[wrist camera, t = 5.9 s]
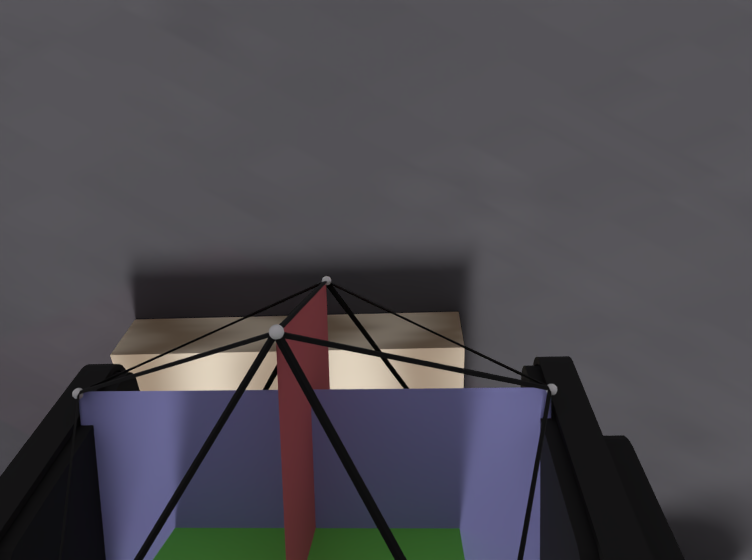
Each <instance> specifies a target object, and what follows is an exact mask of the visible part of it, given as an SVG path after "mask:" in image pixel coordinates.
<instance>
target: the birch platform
mask: <svg viewBox="0 0 752 560" xmlns="http://www.w3.org/2000/svg"><path fill="white" fill-rule="evenodd" d="M396 314H399V315H401V316H403V317H405V318H407V319H409V320H411V321H413V322H415V323H418V324H420V325H422V326H424V327H426V328H428V329H430V330H432V331H434V332H436V333H439V334H441V335H443V336H445V337H447V338H449V339H451V340H453V341H455V342H458V343H460V344H462V345H464V341H463V335H462V329H461V323H460V317H459V312H424V313H396ZM354 315H355V316H356V318H357V319H358V320H359V322H360V323H361V324H362V326H363V327H364V328H365V330H366V331H367V332H368V334H369V335H370V336H371V338H372V339H373V340H374V342H375V343H376V344H377V346H378V347H379V349H380V350H381V351H382V352H385V353H390V354H395V355H400V356H405V357H410V358H415V359H420V360H425V361H430V362H434V363H439V364H444V365H449V366H454V367H459V368H464V348H463V347H460V346H458V345H456V344H454V343H452V342H450V341H448V340H446V339H444V338H442V337H440V336H437V335H435V334H433V333H431V332H429V331H427V330H425V329H423V328H421V327H419V326H416V325H414V324H412V323H410V322H408V321H406V320H404V319H402V318H400V317H398V316H395V315H393V314H391V313H382V314H354ZM286 317H287V316H259V317H248V318H246V319H244V320H242V321H239V322H237V323H235V324H233V325H231V326H228V327H226V328H224V329H222V330H219V331H217V332H215V333H213V334H211V335H208V336H206V337H204V338H202V339H200V340H197V341H195V342H193V343H191V344H188V345H186V346H184V347H182V348H180V349H177V350H175V351H173V352H171V353H168V354H166V355H164V356H162V357H160V358H157V359H155V360H153V361H151V362H149V363H146V364H144V365H142V366H140V367H137V368H135V369H133V370H131V371H129V372H132V373H133V374H135V373H138V372H141V371H144V370H148V369H151V368H154V367H157V366H161V365H164V364H167V363H170V362H174V361H177V360H180V359H184V358H187V357H190V356H193V355H197V354H200V353H203V352H206V351H210V350H213V349H216V348H219V347H223V346H226V345H229V344H232V343H236V342H239V341H242V340H246V339H249V338H252V337H255V336H259V335H262V334H265V333H268V332H269V329H270V327H271V326H273V325H275V324H278V325H279V324H280V323H281V322H282V321H283V320H284V319H285V318H286ZM241 318H243V317H218V318H177V319H136V320H134V322H133V323H132V325H131V326H130V328H129V329H128V330H127V332H126V333H125V335H124V336H123V338H122V339H121V340H120V342H119V343H118V345H117V346H116V348H115V349H114V351H113V352H112V353H111V355H110V356H111V359H112V362H113V364H120V365H123V367H124V368H125V369H126V370H127V369H129V368H132V367H134V366H136V365H138V364H140V363H143V362H145V361H147V360H149V359H152V358H154V357H156V356H158V355H160V354H163V353H165V352H167V351H169V350H172V349H174V348H176V347H178V346H180V345H183V344H185V343H187V342H189V341H192V340H194V339H196V338H198V337H201V336H203V335H205V334H207V333H209V332H212V331H214V330H216V329H218V328H221V327H223V326H225V325H227V324H229V323H232V322H234V321H236V320H238V319H241ZM327 322H328V341H331V342H336V343H341V344H346V345H351V346H356V347H361V348H366V349H370V350H374V349H373V347H372V346H371V345H370V343H369V342H368V341H367V339H366V338H365V337H364V335H363V334H362V333H361V331H360V330H359V329H358V327H357V326H356V325H355V323H354V322H353V321H352V320H351V318H350V317H349V316H348V314H341V315H327ZM267 339H268V338H266V339H263V340H259V341H256V342H253V343H249V344H246V345H243V346H239V347H236V348H233V349H229V350H226V351H223V352H219V353H216V354H213V355H209V356H206V357H203V358H199V359H196V360H193V361H189V362H186V363H182V364H179V365H176V366H172V367H169V368H166V369H162V370H159V371H156V372H152V373H149V374H146V375H142V376H139V377H136V379H137V383H138V386H139V390H140V391H202V390H237V388H238V387H239V385H240V383H241V382H242V380H243V379H244V377H245V375H246V374H247V372H248V370H249V369H250V367H251V365H252V364H253V362H254V360H255V359H256V357H257V355H258V354H259V352H260V350H261V349H262V347H263V345H264V344H265V342H266V341H267ZM328 350H329V379H330V389H403V387H402V386H401V385H400V383H399V382H398V381H397V379H396V378H395V377H394V375H393V374H392V373H391V371H390V370H389V369H388V367H387V366H386V365H385V363H384V362H383V361H382V359H381V358H380V357H376V356H371V355H366V354H360V353H355V352H350V351H345V350H340V349H335V348H330V347H328ZM388 361H389V362H390V363H391V365H392V366H393V367H394V369H395V370H396V371H397V373H398V374H399V375H400V377H401V378H402V379H403V381H404V382H405V383H406V385H407V386H408V387H409V389H424V388H463V387H464V374H462V373H457V372H452V371H447V370H441V369H436V368H431V367H426V366H421V365H416V364H411V363H406V362H401V361H396V360H391V359H388ZM276 365H277V355H276V341H275V342H274V343H273V345H272V347H271V348H270V350H269V352H268V353H267V355H266V357H265V358H264V360H263V362H262V363H261V365H260V367H259V368H258V370H257V372H256V373H255V375H254V377H253V378H252V380H251V382H250V383H249V385H248V386H247V388H246V390H263V388H264V386H265V384H266V383H267V381H268V379H269V377H270V375H271V374H272V372H273V370H274V368H275V366H276ZM269 390H278V376H276V377H275V379H274V381H273V383H272V385H271V386H270V388H269Z"/></svg>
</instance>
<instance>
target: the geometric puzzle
mask: <svg viewBox="0 0 752 560" xmlns="http://www.w3.org/2000/svg"><path fill="white" fill-rule="evenodd" d="M332 285H333V286H335V287H337V288H339V289H341V290H343V291H345V292H347V293H349V294H351V295H354V296H356V297H358V298H360V299H362V300H364V301H366V302H368V303H370V304H372V305H375V306H377V307H379V308H381V309H383V310H385V311H387V312H389V313H391V314H393V315H395V316H398V317H400V318H402V319H404V320H406V321H408V322H410V323H412V324H414V325H416V326H419V327H421V328H423V329H425V330H427V331H429V332H431V333H433V334H435V335H437V336H440V337H442V338H444V339H446V340H448V341H450V342H452V343H454V344H456V345H458V346H460V347H463V348H465V349H467V350H469V351H471V352H473V353H475V354H477V355H479V356H481V357H484V358H486V359H488V360H490V361H492V362H494V363H496V364H498V365H500V366H502V367H505V368H507V369H509V370H511V371H513V372H515V373H517V374H519V375H521V376H523V377H525V378H528V379H530V380H532V381H534V382H536V383H533V382H528V381H523V380H518V379H513V378H508V377H503V376H498V375H493V374H489V373H484V372H479V371H474V370H469V369H464V368H459V367H454V366H449V365H444V364H439V363H434V362H430V361H425V360H420V359H415V358H410V357H405V356H400V355H395V354H390V353H385V352H382V351H381V350H380V349H379V347H378V346H377V344H376V343H375V342H374V340H373V339H372V338H371V336H370V335H369V334H368V332H367V331H366V330H365V328H364V327H363V326H362V324H361V323H360V322H359V320H358V319H357V318H356V316H355V315H354V314H353V312H352V311H351V310H350V308H349V307H348V306H347V304H346V303H345V302H344V300H343V299H342V298H341V296H340V295H339V294H338V292H337V291H336V290H335V288H334V287H333V286H332ZM317 286H318V287H317ZM315 287H317V288H316V289H315V290H314V291H313V292H311V293H310V294H309V295H308V296H307V297H306V298H305V299H304V300H303V301H302V302H301V303H300V304H299V305H298V306H297V307H296V308H295V309H294V310H293V311H292V312H291V313H290V314H289V315H288V316H287V317H286V318H285V319H284V320H283V321H282V322H281V323H280V324H279V325H278V324H275V325H273V326H271V327H270V329H269V332H268V333H265V334H262V335H259V336H255V337H252V338H249V339H246V340H242V341H239V342H236V343H232V344H229V345H226V346H223V347H219V348H216V349H213V350H210V351H206V352H203V353H200V354H197V355H193V356H190V357H187V358H184V359H180V360H177V361H174V362H170V363H167V364H164V365H161V366H157V367H154V368H151V369H148V370H144V371H141V372H138V373H135V374H131V375H128V376H125V377H121V378H118V379H115V380H112V381H109V380H111V379H113V378H115V377H117V376H120V375H122V374H124V373H126V372H129V371H131V370H133V369H135V368H137V367H140V366H142V365H144V364H146V363H149V362H151V361H153V360H155V359H157V358H160V357H162V356H164V355H166V354H168V353H171V352H173V351H175V350H177V349H180V348H182V347H184V346H186V345H188V344H191V343H193V342H195V341H197V340H200V339H202V338H204V337H206V336H208V335H211V334H213V333H215V332H217V331H219V330H222V329H224V328H226V327H228V326H231V325H233V324H235V323H237V322H239V321H242V320H244V319H246V318H248V317H251V316H253V315H255V314H257V313H259V312H262V311H264V310H266V309H268V308H270V307H273V306H275V305H277V304H279V303H282V302H284V301H286V300H288V299H290V298H293V297H295V296H297V295H299V294H301V293H304V292H306V291H308V290H310V289H313V288H315ZM326 287H327V288H328V289H329V290H330V292H331V293H332V294H333V296H334V297H335V298H336V300H337V301H338V302H339V304H340V305H341V306H342V308H343V309H344V310H345V312H346V313H347V314H348V316H349V317H350V318H351V320H352V321H353V322H354V323H355V325H356V326H357V327H358V329H359V330H360V331H361V333H362V334H363V335H364V337H365V338H366V339H367V341H368V342H369V343H370V345H371V346H372V347H373V349H374V350H370V349H366V348H361V347H356V346H351V345H346V344H341V343H336V342H331V341H328V322H327V293H326ZM266 338H268V339H267V341H266V342H265V344H264V345H263V347H262V349H261V350H260V352H259V354H258V355H257V357H256V359H255V360H254V362H253V364H252V365H251V367H250V369H249V370H248V372H247V374H246V375H245V377H244V379H243V380H242V382H241V383H240V385H239V387H238V388H237V390H202V391H92V390H96V389H99V388H102V387H106V386H109V385H112V384H116V383H119V382H122V381H126V380H129V379H132V378H136V377H139V376H142V375H146V374H149V373H152V372H156V371H159V370H162V369H166V368H169V367H172V366H176V365H179V364H182V363H186V362H189V361H193V360H196V359H199V358H203V357H206V356H209V355H213V354H216V353H219V352H223V351H226V350H229V349H233V348H236V347H239V346H243V345H246V344H249V343H253V342H256V341H259V340H263V339H266ZM275 341H276V355H277V365H276V366H275V368H274V370H273V372H272V374H271V375H270V377H269V379H268V381H267V383H266V384H265V386H264V388H263V390H246V388H247V386H248V385H249V383H250V382H251V380H252V378H253V377H254V375H255V373H256V372H257V370H258V368H259V367H260V365H261V363H262V362H263V360H264V358H265V357H266V355H267V353H268V352H269V350H270V348H271V347H272V345H273V343H274V342H275ZM328 347H330V348H335V349H340V350H345V351H350V352H355V353H360V354H366V355H371V356H376V357H380V358H381V359H382V361H383V362H384V363H385V365H386V366H387V367H388V369H389V370H390V371H391V373H392V374H393V375H394V377H395V378H396V379H397V381H398V382H399V383H400V385H401V386H402V387H403V389H330V379H329V350H328ZM388 359H391V360H396V361H401V362H406V363H411V364H416V365H421V366H426V367H431V368H436V369H441V370H447V371H452V372H457V373H462V374H467V375H472V376H477V377H482V378H487V379H492V380H497V381H502V382H507V383H512V384H517V385H522V386H527V387H533V388H424V389H409V387H408V386H407V385H406V383H405V382H404V381H403V379H402V378H401V377H400V375H399V374H398V373H397V371H396V370H395V369H394V367H393V366H392V365H391V363H390V362H389V361H388ZM276 376H278V390H269V388H270V386H271V385H272V383H273V381H274V379H275V377H276ZM106 381H108V382H106ZM104 382H105V383H104ZM90 391H91V392H90ZM556 393H557V387H556V385H554V384H548V385H546V384H544V383H542V382H540V381H538V380H536V379H533V378H531V377H529V376H527V375H525V374H523V373H521V372H519V371H517V370H514V369H512V368H510V367H508V366H506V365H504V364H502V363H500V362H498V361H496V360H493V359H491V358H489V357H487V356H485V355H483V354H481V353H479V352H477V351H474V350H472V349H470V348H468V347H466V346H464V345H462V344H460V343H458V342H455V341H453V340H451V339H449V338H447V337H445V336H443V335H441V334H439V333H436V332H434V331H432V330H430V329H428V328H426V327H424V326H422V325H420V324H418V323H415V322H413V321H411V320H409V319H407V318H405V317H403V316H401V315H399V314H396V313H394V312H392V311H390V310H388V309H386V308H384V307H382V306H380V305H377V304H375V303H373V302H371V301H369V300H367V299H365V298H363V297H361V296H359V295H356V294H354V293H352V292H350V291H348V290H346V289H344V288H342V287H340V286H337V285H335V284H333V283H331V278H330V277H328V276H325V277H323V278H322V282H321V283H319V284H316V285H314V286H312V287H310V288H307V289H305V290H303V291H301V292H298V293H296V294H294V295H292V296H290V297H287V298H285V299H283V300H281V301H278V302H276V303H274V304H272V305H270V306H267V307H265V308H263V309H261V310H258V311H256V312H254V313H252V314H249V315H247V316H245V317H243V318H241V319H238V320H236V321H234V322H232V323H229V324H227V325H225V326H223V327H221V328H218V329H216V330H214V331H212V332H209V333H207V334H205V335H203V336H201V337H198V338H196V339H194V340H192V341H189V342H187V343H185V344H183V345H180V346H178V347H176V348H174V349H172V350H169V351H167V352H165V353H163V354H160V355H158V356H156V357H154V358H152V359H149V360H147V361H145V362H143V363H140V364H138V365H136V366H134V367H132V368H129V369H127V370H125V371H123V372H120V373H118V374H116V375H114V376H111V377H109V378H107V379H105V380H103V381H100V382H98V383H96V384H94V385H91V386H89V387H87V388H85V389H81V388H76V389H75V390H74V391H73V392H72V396H73V397H74V398H75V399H77V403H76V412H75V421H74V430H73V438H72V447H71V456H70V465H69V474H68V482H67V491H66V500H65V509H64V517H63V526H62V535H61V544H60V552H59V560H61V559H62V550H63V541H64V532H65V523H66V514H67V505H68V496H69V487H70V478H71V468H72V459H73V450H74V441H75V432H76V423H77V414H78V405H79V415H80V427H81V425H93V427H94V437H95V448H96V459H97V470H98V480H99V491H100V502H101V512H102V523H103V534H104V545H105V555H106V560H540V458H541V453H542V447H543V441H544V435H545V429H546V424H547V418H551V419H552V395H555V394H556ZM540 418H543V419H542V425H541V431H540Z"/></svg>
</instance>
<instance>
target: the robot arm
mask: <svg viewBox="0 0 752 560" xmlns="http://www.w3.org/2000/svg"><path fill="white" fill-rule="evenodd" d="M125 370H126V369H125V368H124V367H123V365H120V364H89V365H86V366H84V367H83V368H82V369H81V370H80V372H79V373H78V374H77V376H76V377H75V378H74V380H73V381H72V382H71V384H70V385H69V386H68V388H67V389H66V390H65V391H64V393H63V394H62V395H61V397H60V398H59V399H58V401H57V402H56V403H55V405H54V406H53V407H52V409H51V410H50V411H49V413H48V414H47V415H46V417H45V418H44V419H43V421H42V422H41V423H40V425H39V426H38V427H37V429H36V430H35V431H34V433H33V434H32V435H31V437H30V438H29V439H28V440H27V442H26V443H25V444H24V446H23V447H22V448H21V450H20V451H19V452H18V454H17V455H16V456H15V458H14V459H13V460H12V462H11V463H10V464H9V466H8V467H7V468H6V470H5V471H4V472H3V474H2V475H1V476H0V560H59V552H60V544H61V535H62V526H63V517H64V509H65V500H66V491H67V482H68V474H69V465H70V456H71V447H72V438H73V430H74V421H75V412H76V403H77V399H75V398H74V397H73V396H72V392H73V391H74V390H75V389H76V388H81V389H85V388H87V387H89V386H91V385H94V384H96V383H98V382H100V381H103V380H105V379H107V378H109V377H111V376H114V375H116V374H118V373H120V372H123V371H125ZM522 373H523V374H525V375H527V376H529V377H531V378H533V379H536V380H538V381H540V382H542V383H544V384H546V385H548V384H554V385H556V387H557V393H556V394H555V395H552V419H551V418H547V424H546V429H545V435H544V441H543V447H542V453H541V458H540V560H684V558H683V555H682V553H681V551H680V549H679V547H678V544H677V542H676V540H675V538H674V536H673V534H672V531H671V529H670V527H669V525H668V523H667V520H666V518H665V516H664V514H663V512H662V510H661V507H660V505H659V503H658V501H657V499H656V496H655V494H654V492H653V490H652V488H651V485H650V483H649V481H648V479H647V477H646V475H645V472H644V470H643V468H642V466H641V464H640V461H639V459H638V457H637V455H636V453H635V451H634V448H633V446H632V445H631V443H630V441H629V439H627V438H626V437H625V436H603V435H602V432H601V430H600V427H599V425H598V422H597V420H596V417H595V415H594V412H593V410H592V408H591V405H590V403H589V400H588V398H587V395H586V393H585V390H584V388H583V385H582V383H581V381H580V378H579V376H578V373H577V371H576V368H575V366H574V363H573V361H572V359H571V358H570V357H569V356H565V357H536V358H535V360H534V363H533V366H523V369H522ZM131 374H133V373H132V372H126V373H124V374H122V375H120V376H117V377H115V378H113V379H111V380H109V381H112V380H115V379H118V378H121V377H125V376H128V375H131ZM521 380H523V381H528V382H533V383H536V382H534V381H532V380H530V379H528V378H525V377H523V376H521ZM106 382H108V381H106ZM104 383H105V382H104ZM521 388H533V387H527V386H522V385H521ZM92 391H140V390H139V386H138V383H137V379H136V378H132V379H129V380H126V381H122V382H119V383H116V384H112V385H109V386H106V387H102V388H99V389H96V390H92ZM90 392H91V391H90ZM542 419H543V418H540V431H541V425H542ZM61 560H106V555H105V545H104V534H103V523H102V512H101V502H100V491H99V480H98V470H97V459H96V448H95V437H94V427H93V425H81V427H80V415H79V405H78V414H77V423H76V432H75V441H74V450H73V459H72V468H71V478H70V487H69V496H68V505H67V514H66V523H65V532H64V541H63V550H62V559H61Z"/></svg>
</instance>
